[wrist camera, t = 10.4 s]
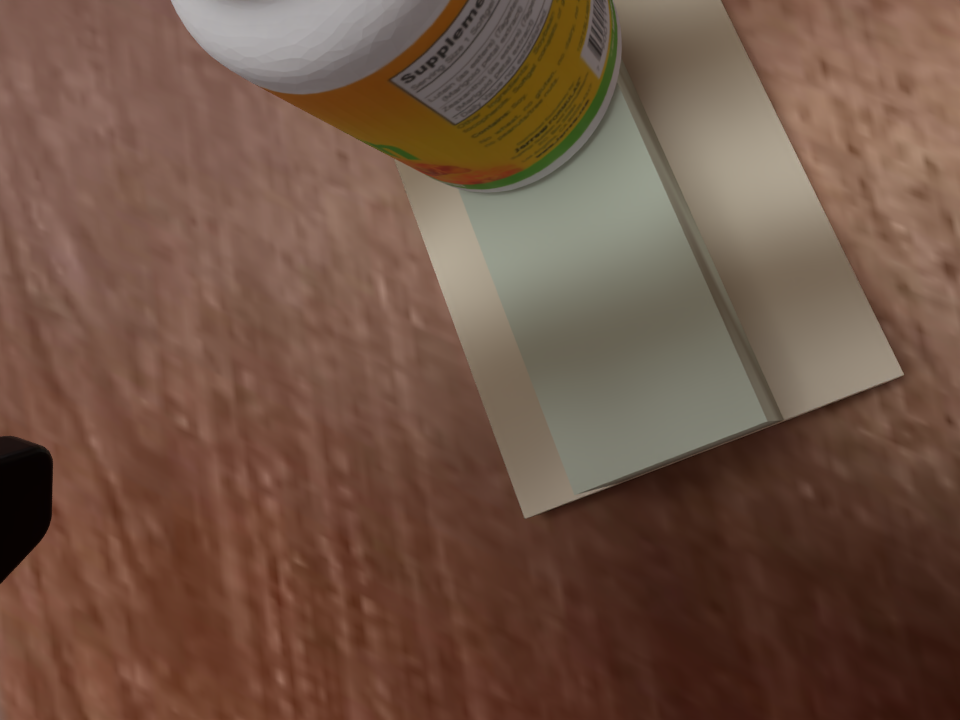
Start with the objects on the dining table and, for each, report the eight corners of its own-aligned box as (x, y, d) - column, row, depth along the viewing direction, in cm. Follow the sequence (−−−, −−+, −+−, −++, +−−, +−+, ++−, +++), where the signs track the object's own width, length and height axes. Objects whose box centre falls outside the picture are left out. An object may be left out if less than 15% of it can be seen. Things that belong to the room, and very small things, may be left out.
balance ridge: (902, 376, 18) (909, 367, 14) (539, 514, 21) (470, 534, 17) (594, -254, 22) (537, -387, 18) (331, -53, 25) (239, -131, 21)
